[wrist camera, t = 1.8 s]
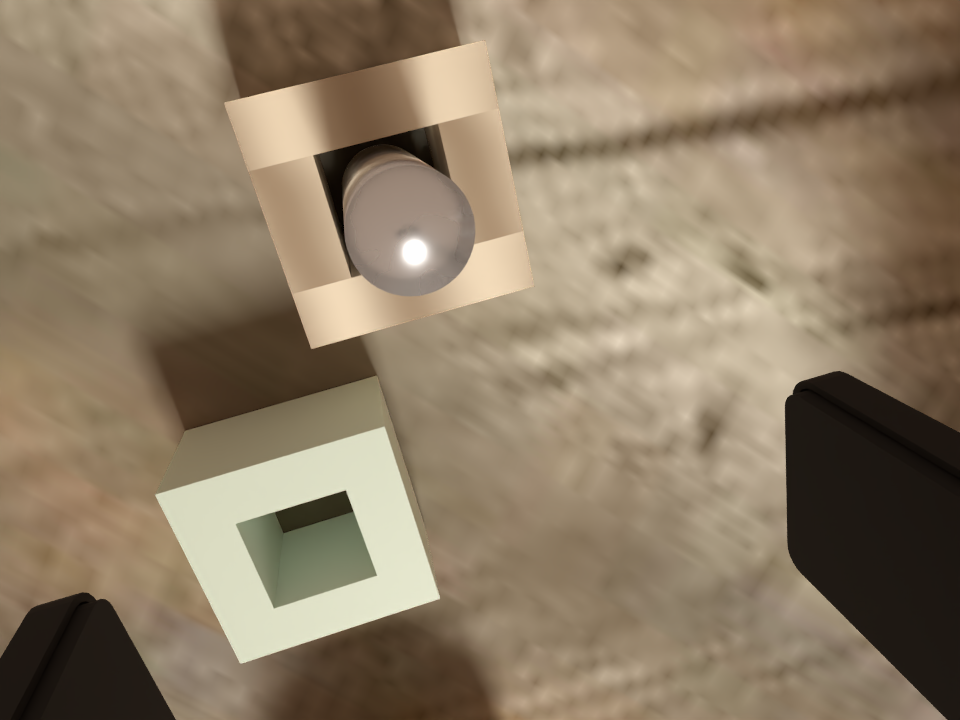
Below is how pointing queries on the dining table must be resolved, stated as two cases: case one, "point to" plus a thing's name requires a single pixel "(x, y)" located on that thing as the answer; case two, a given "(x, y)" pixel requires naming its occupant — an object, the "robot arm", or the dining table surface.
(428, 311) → the socket block
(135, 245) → the dining table surface
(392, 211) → the steel peg
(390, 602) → the block
